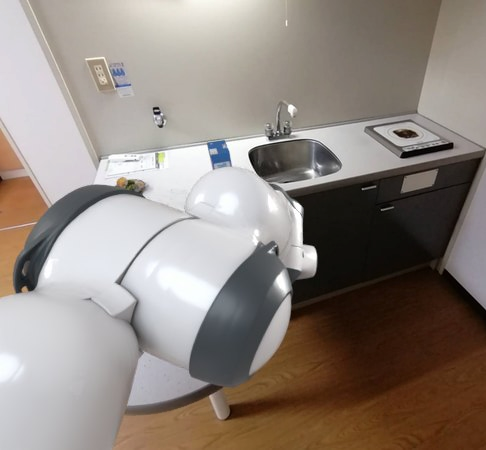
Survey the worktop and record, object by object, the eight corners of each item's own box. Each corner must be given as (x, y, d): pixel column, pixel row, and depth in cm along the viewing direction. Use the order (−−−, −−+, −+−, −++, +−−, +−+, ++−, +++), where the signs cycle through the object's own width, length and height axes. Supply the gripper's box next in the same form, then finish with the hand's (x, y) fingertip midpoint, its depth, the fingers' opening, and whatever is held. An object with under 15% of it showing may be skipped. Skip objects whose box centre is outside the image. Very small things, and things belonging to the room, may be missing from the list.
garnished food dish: (147, 194, 117) (140, 177, 112) (113, 202, 113) (105, 185, 108) (144, 179, 125) (138, 163, 121) (113, 187, 121) (105, 170, 117)
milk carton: (238, 201, 113) (229, 151, 100) (221, 205, 112) (210, 155, 99) (233, 187, 120) (224, 139, 107) (217, 190, 119) (206, 142, 106)
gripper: (252, 224, 79) (199, 224, 79) (240, 286, 63) (174, 287, 63) (255, 241, 83) (204, 242, 83) (244, 305, 67) (182, 305, 68)
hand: (191, 262), depth 73 cm, fingers open, 8 cm apart
